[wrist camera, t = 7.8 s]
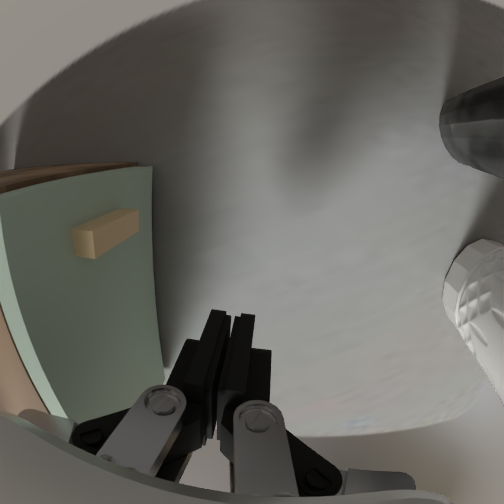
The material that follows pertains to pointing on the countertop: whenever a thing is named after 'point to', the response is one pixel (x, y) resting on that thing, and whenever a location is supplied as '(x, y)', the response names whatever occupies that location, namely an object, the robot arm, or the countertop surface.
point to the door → (83, 289)
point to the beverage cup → (476, 127)
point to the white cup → (479, 305)
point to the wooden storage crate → (3, 346)
